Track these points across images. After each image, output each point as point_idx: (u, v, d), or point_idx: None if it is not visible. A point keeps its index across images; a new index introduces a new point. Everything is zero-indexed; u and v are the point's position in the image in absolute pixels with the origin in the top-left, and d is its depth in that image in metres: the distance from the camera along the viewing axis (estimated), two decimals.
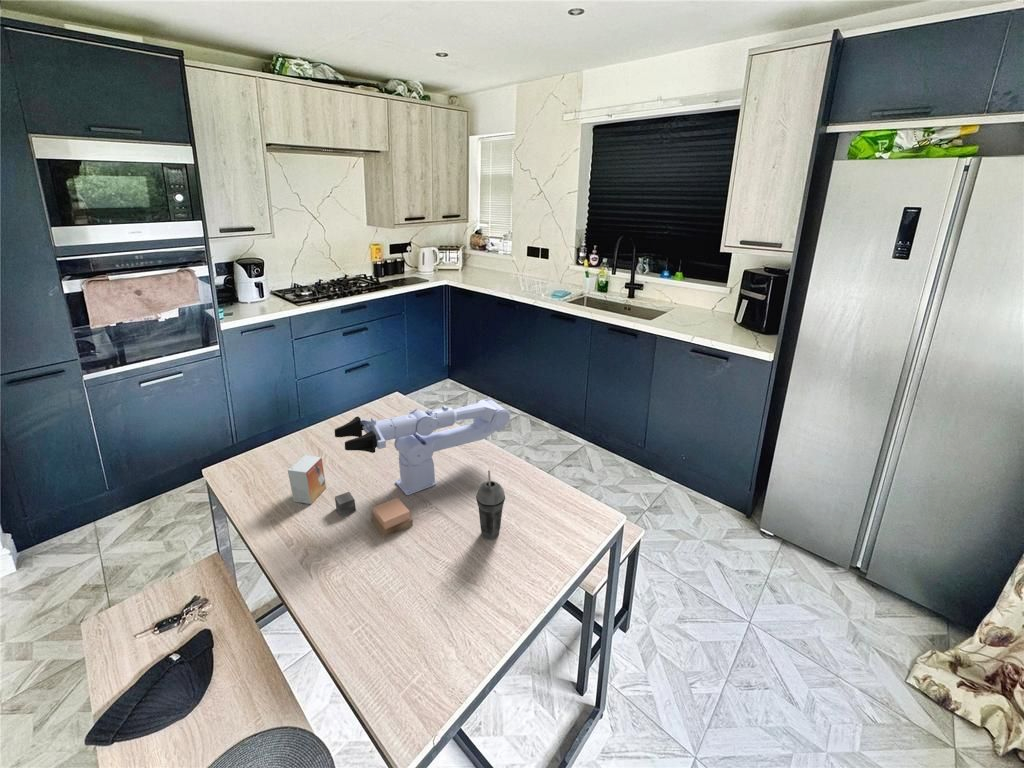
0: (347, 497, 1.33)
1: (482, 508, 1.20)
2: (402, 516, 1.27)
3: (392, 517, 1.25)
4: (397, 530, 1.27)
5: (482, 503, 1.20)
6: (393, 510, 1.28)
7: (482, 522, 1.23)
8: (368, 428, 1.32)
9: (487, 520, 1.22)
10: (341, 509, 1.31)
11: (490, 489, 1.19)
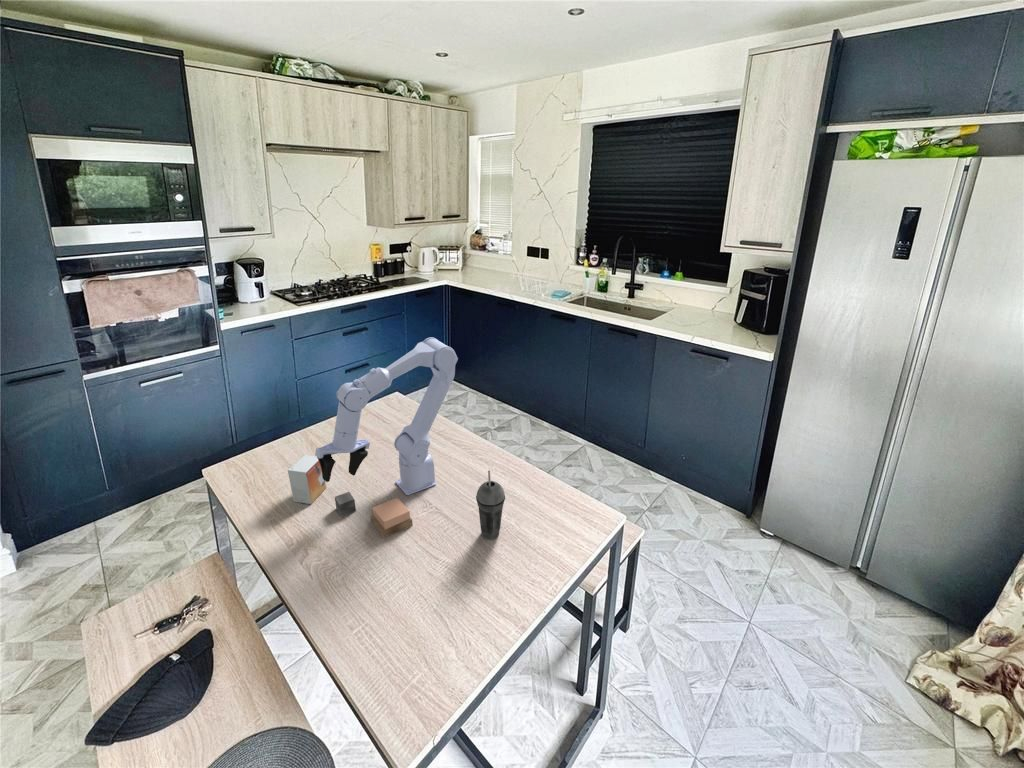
0: (347, 497, 1.33)
1: (482, 508, 1.20)
2: (402, 516, 1.27)
3: (392, 517, 1.25)
4: (397, 530, 1.27)
5: (482, 503, 1.20)
6: (393, 510, 1.28)
7: (482, 522, 1.23)
8: None
9: (487, 520, 1.22)
10: (341, 509, 1.31)
11: (490, 489, 1.19)
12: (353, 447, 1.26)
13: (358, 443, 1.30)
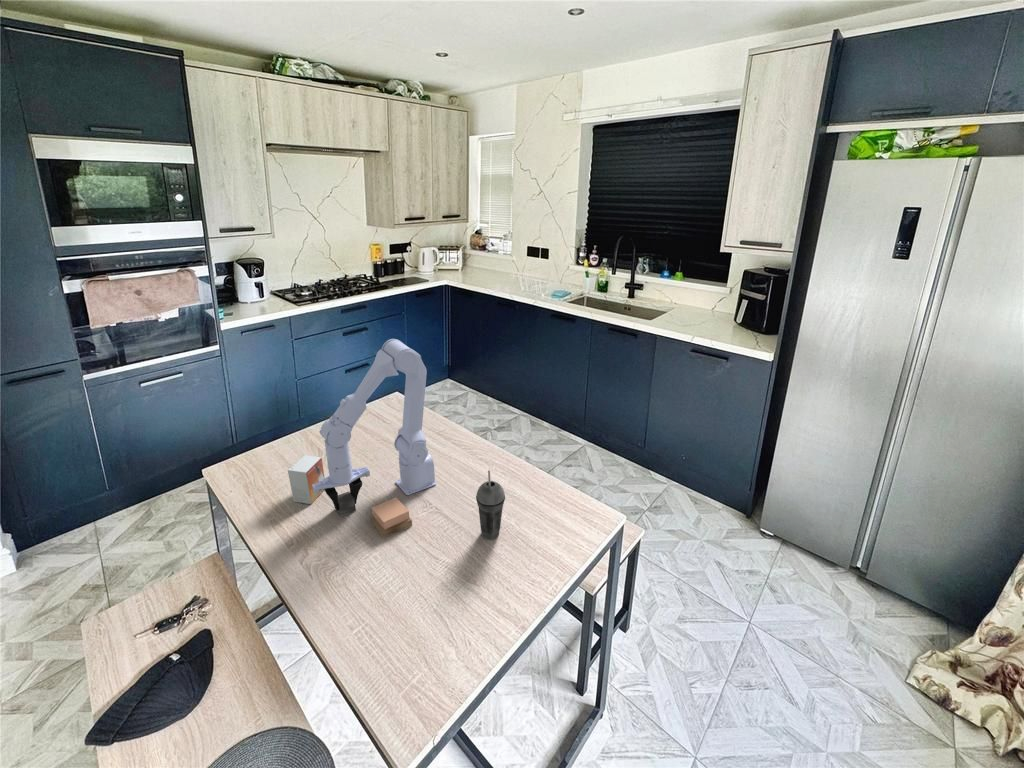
0: (347, 496, 1.33)
1: (482, 508, 1.20)
2: (401, 516, 1.27)
3: (391, 517, 1.25)
4: (396, 530, 1.27)
5: (482, 503, 1.20)
6: (392, 510, 1.28)
7: (482, 522, 1.23)
8: None
9: (487, 520, 1.22)
10: (341, 509, 1.31)
11: (490, 489, 1.19)
12: (348, 479, 1.28)
13: (357, 472, 1.32)
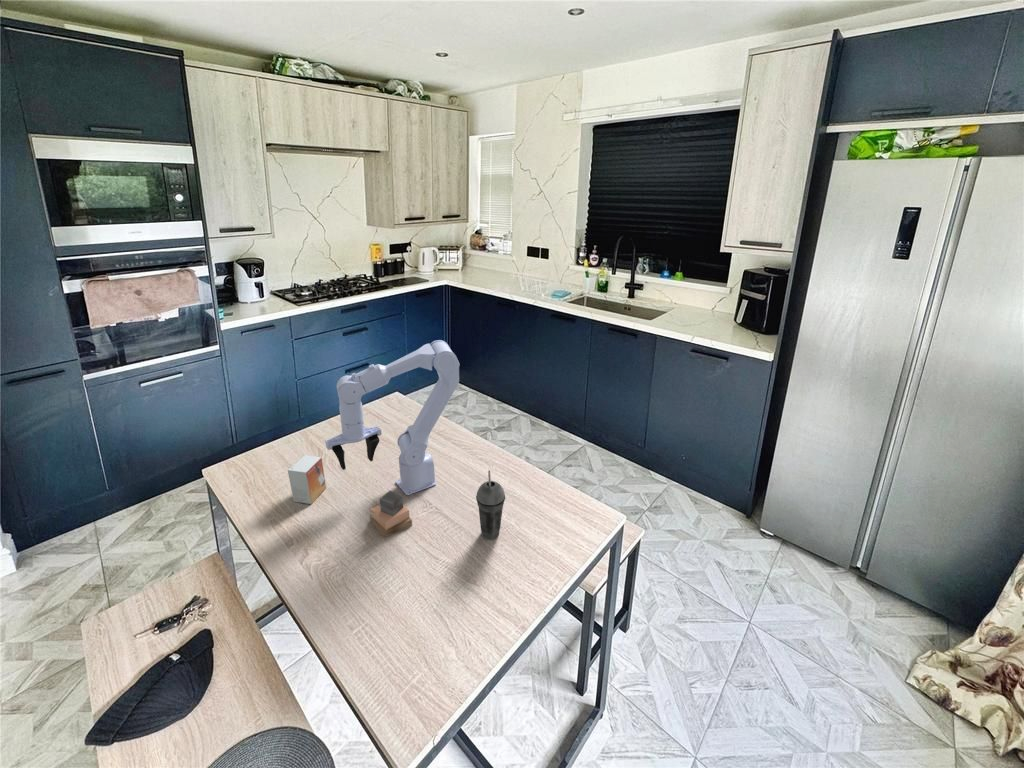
0: (393, 495, 1.27)
1: (482, 508, 1.20)
2: (402, 515, 1.27)
3: (392, 517, 1.25)
4: (396, 530, 1.27)
5: (482, 503, 1.20)
6: None
7: (482, 522, 1.23)
8: None
9: (487, 520, 1.22)
10: (393, 508, 1.25)
11: (490, 489, 1.19)
12: (360, 436, 1.31)
13: (369, 431, 1.35)
